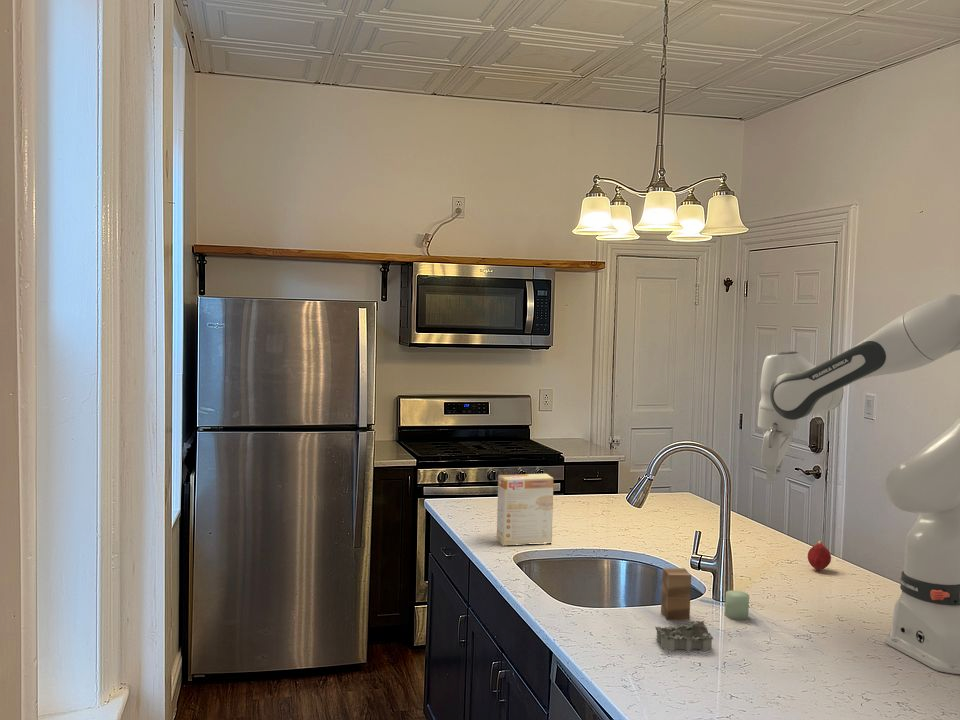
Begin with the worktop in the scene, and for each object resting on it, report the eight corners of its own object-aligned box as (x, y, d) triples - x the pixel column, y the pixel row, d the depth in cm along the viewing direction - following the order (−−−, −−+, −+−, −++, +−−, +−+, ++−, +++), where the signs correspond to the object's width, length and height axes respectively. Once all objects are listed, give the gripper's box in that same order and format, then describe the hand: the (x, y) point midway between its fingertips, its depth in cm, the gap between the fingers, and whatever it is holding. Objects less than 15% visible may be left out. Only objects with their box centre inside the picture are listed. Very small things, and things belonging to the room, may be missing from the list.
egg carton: (705, 639, 176) (705, 620, 176) (714, 654, 169) (715, 633, 169) (653, 637, 176) (654, 618, 176) (661, 652, 169) (662, 631, 169)
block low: (689, 619, 187) (690, 597, 187) (667, 619, 186) (668, 597, 186) (682, 611, 192) (683, 590, 192) (660, 611, 191) (661, 589, 191)
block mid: (690, 597, 187) (691, 575, 186) (668, 597, 186) (668, 574, 186) (683, 590, 192) (684, 568, 191) (661, 589, 191) (662, 568, 191)
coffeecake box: (544, 538, 252) (546, 473, 250) (552, 544, 245) (554, 477, 244) (495, 540, 248) (497, 474, 247) (502, 547, 241) (504, 478, 240)
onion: (832, 575, 223) (833, 545, 222) (809, 573, 224) (810, 543, 223) (827, 568, 228) (829, 539, 228) (805, 566, 230) (806, 537, 229)
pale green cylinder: (751, 620, 188) (752, 598, 187) (729, 620, 187) (730, 597, 187) (743, 612, 193) (744, 590, 192) (721, 612, 192) (722, 590, 192)
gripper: (786, 430, 187) (781, 491, 188) (797, 414, 205) (793, 470, 207) (756, 426, 189) (752, 486, 191) (770, 411, 207) (766, 466, 209)
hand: (773, 478), depth 199 cm, fingers open, 8 cm apart
